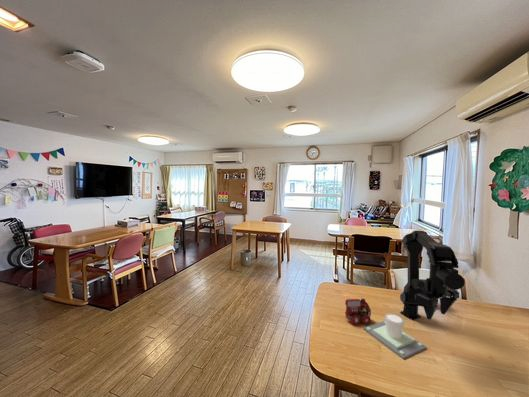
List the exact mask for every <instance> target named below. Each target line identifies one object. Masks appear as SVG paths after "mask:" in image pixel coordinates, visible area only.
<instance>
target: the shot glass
mask: <svg viewBox="0 0 529 397" xmlns="http://www.w3.org/2000/svg"><path fill="white" fill-rule="evenodd" d="M384 318H385V320H384V321H385V323H386V334H387V335H388V336H390V337H392V338H394V339H400V338H401V336H402V331H403V329H404V323H405V320H404V319H403V317H401V316H399V315H397V314H394V313H386V314H385V315H384ZM403 332H404V331H403Z"/></svg>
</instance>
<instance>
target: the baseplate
mask: <svg viewBox="0 0 529 397" xmlns="http://www.w3.org/2000/svg"><path fill="white" fill-rule="evenodd" d="M363 331H365V332H366V333H367V334H369V335H370V336H371V337H373V339H376V341H378V342H380V343H381V344H382V345H384V346H385V347H386V348H388V349H389V350H390V351H391V352H393V353H394V354H395V355H397V356H399V358H401V359H402V360H405V359H407V358H409V357H411V356H413V355H416V354H418V353H419V352H422V351H424V350H427V345H425V344H424V343H422V342H421V341H418V340H417V339H415V338H414V337H413V336H411V335H409V334H408V333H406V332H404V331H402V336H401V338H400V339H394V338H392V337H390V336H388V335H387V334H386V323H385V320H383V321H380V322H377V323H376V322H375V323H373V324H371V325H368V326H367V325H366V326H364V327H363Z"/></svg>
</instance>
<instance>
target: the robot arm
mask: <svg viewBox="0 0 529 397" xmlns="http://www.w3.org/2000/svg"><path fill="white" fill-rule="evenodd" d="M401 240H402V245H403V248H404V250H405V251H406V253H407V283H406V284H405V286H404V287H403V291H402V292H401V293H400V296H399V299H400V302H401V303H402V305H403V310H402V311H400V314H402V315H403V316H405V317H407V318H409V319H410V320H413V321H414V320H417V319H419V318H422V316H421V315H420V314H419V307H422V308H423V310H424V313H425V316H426V319H427V320H432V318H433V317H434V314H435V312H436V311H437V309H438V308H439V307H440V314H442V315H446V313H447V312H448V311H449V309H450V308H451V307H452V305H454V304H455V302H456V301H457V300H458V299H459V298H460V292H459V291H458V290H460V289H462V288H463V287H464V286H465V282H466V281H465V279H464V277H463V276H462V275H461V274H459V270H458V269H459V268H460V267H459V261H458V259H457V257H456V254H455V251H454V250H453V249H452V247H450V246H449V245H446V244H443V243H441V242H440V243H439V242H438V241H436V240H435V239H434V238H433V237H431V236H430V235H429V234H428V233H427V231H424V230H413V231H412V232H410V233H407V234H405V235H404V236H403V237H402V239H401ZM424 248H425V250H426V255H427V257H428V259H429V260H428V262H429V264H430V265H429V277H426V278H425V279H421V278H420V254H421V252H422V251H423V250H424ZM422 289H424V291H426V292H430V294H428V293H425V292H424V291H423V290H422ZM437 299H438V300H437ZM439 303H440V304H439ZM438 304H439V305H438ZM438 306H439V307H438Z"/></svg>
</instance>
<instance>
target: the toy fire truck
mask: <svg viewBox="0 0 529 397" xmlns="http://www.w3.org/2000/svg"><path fill="white" fill-rule="evenodd" d="M344 302H345V307H346V308H345V317H346V318H347V319H348V320H349V319H350V322H351V324H353V325H354V326H357V325H359V324H360V322H362V323H363V325H366V326H367V325H369V324H371V319H372V318H371V315H372V314H371V313H372V311H371V308H370V305H369V303H368V302H367V301H366V299H365V298H361V299H360V298H352V299H351V298H349V299H346V300H345V301H344Z"/></svg>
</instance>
